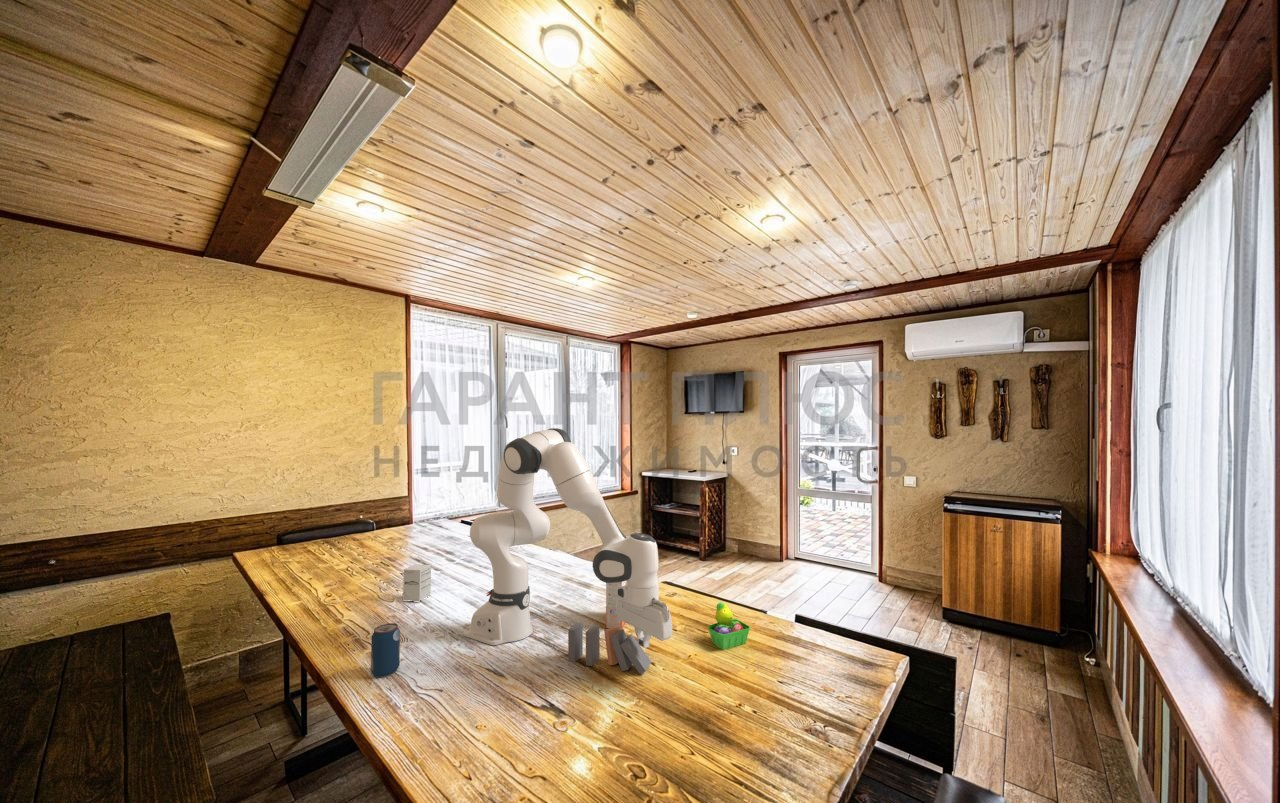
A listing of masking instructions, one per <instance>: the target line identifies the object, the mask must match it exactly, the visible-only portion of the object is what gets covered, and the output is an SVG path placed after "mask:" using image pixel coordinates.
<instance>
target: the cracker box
mask: <svg viewBox="0 0 1280 803" xmlns="http://www.w3.org/2000/svg"><path fill="white" fill-rule="evenodd" d="M605 584H606V587H605V593H606V594H605V628H606V629H609V628H612V627H615V626H618V625H619V626H622V627H623V628H624V626H625V625H626V623H625V622H623V621H621V620H619V619H618V617H617V614H616V599H617V595H616V588H618V587H621V586H624V585H627V581H622V582H616V583H605Z"/></svg>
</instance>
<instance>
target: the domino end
mask: <svg viewBox="0 0 1280 803" xmlns="http://www.w3.org/2000/svg"><path fill="white" fill-rule="evenodd" d="M626 637H627V638H626V639H625V640H624V642H623V643H622V644H621V645H620V646H621V648H622V649H623V651H624V652H625V654H626V655H627V656H628V658H629V659H630V661H631V662H632V665H633V666H634V668H635V669H636V671H637V673H638V674H639V675H642V674H643V673H645V672H646V671H647V669H648V668H649V666H650V665H651V664H652V661H651V659H650V657H649V656H648V655H647V653H646V652H645V650H644V649H643V647H642V646H641V645H639V644H638V640H637V639H636V638H635V637H634V635H633V633H631V634H630V635H629V636H626Z"/></svg>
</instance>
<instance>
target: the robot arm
mask: <svg viewBox="0 0 1280 803" xmlns="http://www.w3.org/2000/svg"><path fill="white" fill-rule="evenodd" d="M571 440H572V439H571V438H570V435H569V434H568V433H567V432H566V431H565V430H564V429H562V428H555V427H553V428H548V429H545V430H539V431H535V432H531V433H529V434H526V435H525V436H522V437H518V438H515V439H513V440H512V441H510V442H509V443H507V445H505V447H504V450H503V452H502V455H501V459H500V463H499V469H498V478H497V489H496V490H497V491H496V497H497V500H498V502H499V503H500V504H501V505H503V507H505V508H508V509H509V510H512V511H508V512H507V511H506V512H495V513H490V514H485V515H482V516H478V517H476V518H475V519H474V520H473V522H472V524H471V526H470V528H469V537H470V540H471V542H472V544H473V545H474V546H475V548H477V549H479V550H480V551H482V552H483V553H484V554H485V556H487V558H488V559H489V561H490V564H491V568H492V569H491V570H492V577H493V580H492V581H493V584H492V585H493V588H492V589H490V591H487V592H486V595H485V596H486V597H489V598H488V601H486V602H485V603H484V604H483V605H481V606H480V607H479V608H478V609H476V610H475V612H474V613H473V614H472V617H471V621H470V624H469V625H468V626H467V627H466V628H465V629H464V630H463V633H462V635H463V636H464V637H466V638H469V639H473V640H476V641H478V642H481V643H484V644H488V645H490V646H498V645H501V644H505V643H513V642H516V641H520V640H523V639H526V638H528V637H529V636H530V635H532V634H533V632H534V627H533V623H532V620H531V614H530V601H531V600H530V598H531V596H530V594H531V592H530V591H531V590H530V586H529V564H528V562H527V560H525V558H523V557H522V556H519V555H516V554H514V553H512V552H511V550H510V549H511V547H515V546H524V545H531V544H534V543H537V542H540V541H544V540H545V539H547V537H548V536H549V535H550V534H549V533H550V531H551V521H550V520H551V519H550V517H549V516H548V515H547V513H546V512H545V511H543V510H541V509H540V508H539V507H538V505H536V503H535V499H534V482H535V475H536V474H537V473H538V472H539V471H540V470H544V471H546V472H547V473H548V474H549V476H550V478H551V480H552V482H553V485H554V487H555V489H556V492H557V494H558V495H559V498H560V499H561V501H562V503H563V504H564V505H565V506H566V507H567V508H568V509H570V510H574V511H577V512H579V513H582V514H584V515H585V516H586V517H587V518H588V519H589V520H590V522H591V523H592V525H593V527H594V529H595V531H596V533H597V535H598V536H599V538H600V540H601V543H602V547H601V549H600V550H599V551H598V552H597V553H596V554H595V556H594V557H593V560H592V571H593V573H594V575H595V577H597V579H598V580H599V581H601V582H603V583H605V584H606V583H616V582H622V581H627V585H624V586H621V587H618V588H616V595H617V599H616V614H617V617H618V619H619V620H621V621H623V622H625V624H627V625H629V626H631V627H633V628H634V632H635V635H636V638H637V642H638V644H639V645H640V646H641V647H642V648H645V649H647V648H649V647H650V640H651V638H652V637H653V638H655V639H657V640H659V641H661V642H663V641H667V640H669V639H671V637H672V636H673V625H672V624H673V622H672V615H671V612H670V608H669V607H668V605H667V604H666V603H665V602H664V601H661V600H660V582H659V577H658V570H659V552H658V551H659V550H658V544H657V542H656V540H655V538H653V536H651V535H649V534H646V533H642V532H638V533H637V532H634V533H631V534H629V535H628V536H626V535H625V534H624V533H623V532H622V530H621V529H620V528H619V526H618V523H617V522H616V520H615V518H614V516H613V515H612V513H611V511H610V509H609V507H608V505H607V503H606V501H605V500H604V498H603V496H602V493H601V492H600V489H599V487H598V484H597V482H596V479H595V478H594V475H593V473H592V471H591V468H590V466H589V464H588V462H587V461H586V459H585V458H584V456H583V455H582V453H581V452H580V450H579V449H578V447H577V446H576V445H575V444H574V443H573V442H572V441H571Z"/></svg>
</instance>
